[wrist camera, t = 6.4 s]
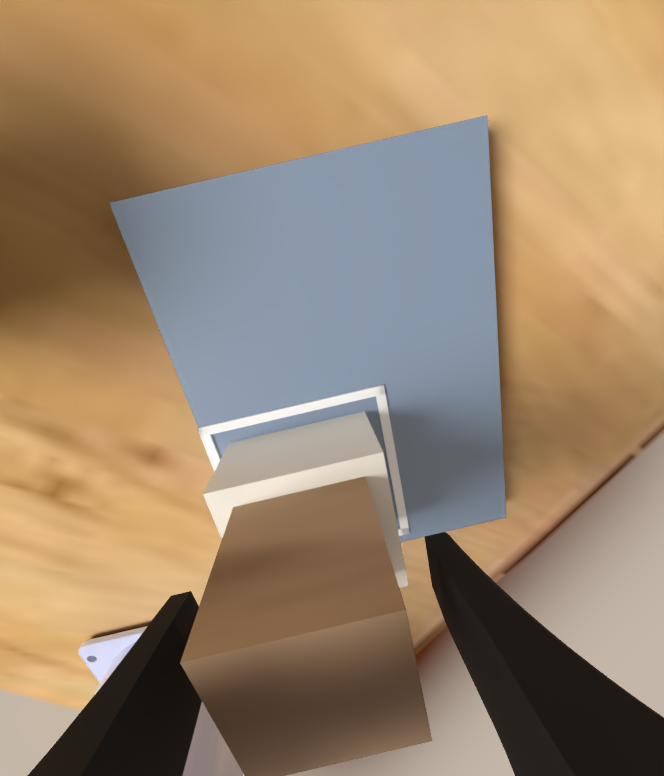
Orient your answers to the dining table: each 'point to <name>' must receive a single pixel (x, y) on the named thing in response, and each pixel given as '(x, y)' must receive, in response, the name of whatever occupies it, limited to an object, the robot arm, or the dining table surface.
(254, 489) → the cream base block
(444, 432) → the board
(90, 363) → the dining table surface
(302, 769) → the walnut block
